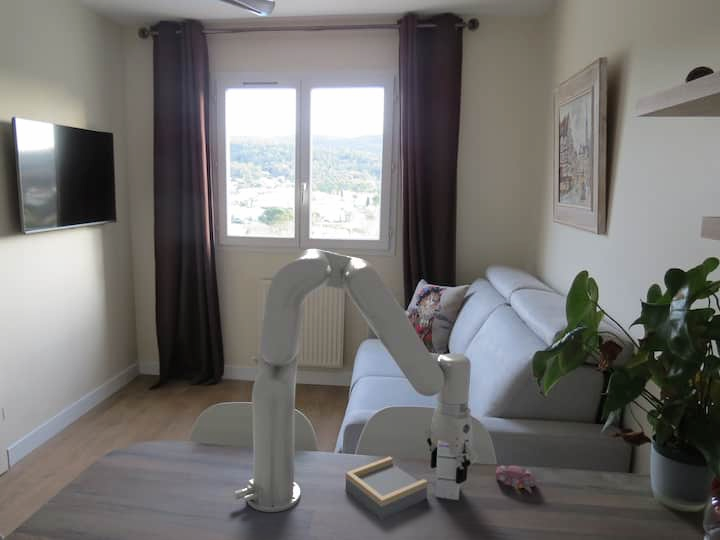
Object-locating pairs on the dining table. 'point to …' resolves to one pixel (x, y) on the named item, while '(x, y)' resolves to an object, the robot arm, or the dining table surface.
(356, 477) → the tray
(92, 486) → the dining table surface
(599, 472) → the dining table surface
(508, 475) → the pink toy figure
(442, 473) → the syrup box
